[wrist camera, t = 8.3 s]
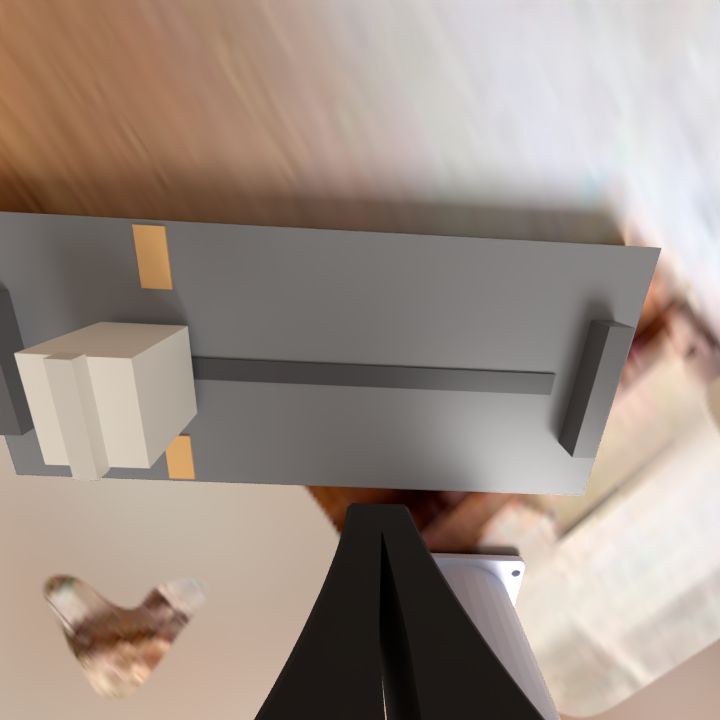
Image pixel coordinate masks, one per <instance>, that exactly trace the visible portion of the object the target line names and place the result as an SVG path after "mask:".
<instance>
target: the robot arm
mask: <svg viewBox="0 0 720 720" xmlns="http://www.w3.org/2000/svg"><path fill="white" fill-rule="evenodd" d="M524 570H525V563H524V561H523V559H522V558H521V557H520V556H506V555H475V554H445V553H430V551H429V549H428V547H427V546H426V544H425V542H424V540H423V538H422V536H421V534H420V532H419V530H418V528H417V526H416V524H415V522H414V520H413V518H412V516H411V513H410V511H409V509H408V508H407V507H406V506H405V505H404V504H363V503H352V504H351V505H349V506H348V507H347V513H346V519H345V524H344V528H343V531H342V535H341V538H340V541H339V544H338V547H337V551H336V554H335V556H334V559H333V561H332V564H331V566H330V569H329V571H328V574H327V577H326V579H325V582H324V584H323V587H322V589H321V591H320V594H319V596H318V598H317V600H316V602H315V605H314V607H313V609H312V611H311V613H310V615H309V618H308V620H307V622H306V624H305V626H304V628H303V630H302V632H301V634H300V636H299V639H298V640H297V642H296V644H295V646H294V648H293V651H292V652H291V654H290V656H289V658H288V660H287V662H286V664H285V666H284V667H283V669H282V671H281V673H280V675H279V677H278V678H277V680H276V682H275V684H274V686H273V688H272V689H271V691H270V693H269V695H268V697H267V698H266V700H265V702H264V703H263V705H262V707H261V709H260V710H259V712H258V714H257V715H256V717H255V719H254V720H385V712H384V698H385V707H386V715H387V720H561V719H560V716H559V714H558V712H557V709H556V707H555V704H554V702H553V700H552V697H551V695H550V692H549V690H548V688H547V685H546V683H545V680H544V678H543V676H542V673H541V671H540V668H539V666H538V664H537V661H536V659H535V656H534V654H533V652H532V649H531V647H530V644H529V642H528V640H527V637H526V635H525V632H524V630H523V628H522V625H521V623H520V620H519V618H518V616H517V613H516V611H515V608H514V607H515V603H516V599H517V596H518V592H519V588H520V584H521V581H522V577H523V573H524ZM382 681H383V685H382ZM383 690H384V698H383Z"/></svg>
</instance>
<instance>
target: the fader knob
mask: <svg viewBox="0 0 720 720" xmlns="http://www.w3.org/2000/svg"><path fill="white" fill-rule="evenodd" d="M14 355H15V359H16V362H17V366H18V369H19V373H20V377H21V380H22V384H23V387H24V391H25V394H26V398H27V401H28V405H29V409H30V412H31V416H32V419H33V423H34V426H35V430H36V434H37V437H38V441H39V444H40V448H41V451H42V455H43V459H44V462H45V465H69V466H70V468H71V472H72V476H73V480H90V481H99V480H100V479H101V478H102V477H103V476H104V475H105V474H106V473H107V472H108V471H109V470H110V467H122V468H149V469H150V467H151V466H152V465H153V464H154V463H155V462H156V460H157V459H158V458H159V457H160V456H161V455H162V454H163V452H164V451H165V450H166V449H167V448H168V447H169V445H170V444H171V443H172V442H173V441H174V440H175V438H176V437H177V436H178V435H179V434H180V433H181V432H182V430H183V429H184V428H185V427H186V426H187V425H188V423H189V422H190V421H191V420H192V419H193V418H194V416H195V415H196V414H197V406H196V397H195V388H194V378H193V369H192V360H191V351H190V342H189V333H188V326H179V325H158V324H137V323H116V322H99V323H96V324H93V325H90V326H88V327H85V328H82V329H79V330H77V331H74V332H71V333H68V334H66V335H63V336H60V337H57V338H55V339H52V340H49V341H46V342H44V343H41V344H38V345H35V346H33V347H30V348H27V349H24V350H22V351H19V352H16V353H14Z"/></svg>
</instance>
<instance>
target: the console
mask: <svg viewBox="0 0 720 720" xmlns="http://www.w3.org/2000/svg"><path fill="white" fill-rule="evenodd" d="M660 251H661V248H653V247H637V246H621V245H603V244H585V243H566V242H548V241H530V240H512V239H494V238H476V237H457V236H439V235H421V234H403V233H385V232H367V231H348V230H330V229H312V228H294V227H276V226H258V225H239V224H221V223H203V222H185V221H167V220H149V219H130V218H112V217H94V216H76V215H58V214H40V213H21V212H3V211H0V435H4V436H5V439H6V442H7V445H8V448H9V451H10V455H11V458H12V461H13V464H14V467H15V470H16V474H17V475H37V476H66V477H73V476H72V472H71V468H70V466H69V465H45V462H44V459H43V455H42V451H41V448H40V444H39V441H38V437H37V434H36V430H35V426H34V423H33V419H32V416H31V412H30V409H29V405H28V401H27V398H26V394H25V391H24V387H23V384H22V380H21V377H20V373H19V369H18V366H17V362H16V359H15V355H14V353H16V352H19V351H22V350H24V349H27V348H30V347H33V346H35V345H38V344H41V343H44V342H46V341H49V340H52V339H55V338H57V337H60V336H63V335H66V334H68V333H71V332H74V331H77V330H79V329H82V328H85V327H88V326H90V325H93V324H96V323H99V322H116V323H137V324H158V325H179V326H188V333H189V342H190V351H191V360H192V369H193V378H194V388H195V397H196V406H197V414H196V415H195V416H194V418H193V419H192V420H191V421H190V422H189V423H188V425H187V426H186V427H185V428H184V429H183V430H182V432H181V433H180V434H179V435H178V436H177V437H176V438H175V440H174V441H173V442H172V443H171V444H170V445H169V447H168V448H167V449H166V450H165V451H164V452H163V454H162V455H161V456H160V457H159V458H158V459H157V460H156V462H155V463H154V464H153V465H152V466H151V467H150V469H149V468H122V467H110V470H109V471H108V472H107V473H106V474H105V475H104V476H103V477H102V478H119V479H147V480H173V481H200V482H230V483H255V484H256V483H257V484H282V485H309V486H336V487H363V488H390V489H417V490H444V491H471V492H499V493H526V494H553V495H580V496H583V495H584V492H585V489H586V486H587V483H588V480H589V476H590V473H591V470H592V467H593V464H594V461H595V457H596V454H597V451H598V448H599V445H600V441H601V438H602V435H603V432H604V429H605V426H606V422H607V419H608V416H609V413H610V410H611V407H612V403H613V400H614V397H615V394H616V391H617V387H618V384H619V381H620V378H621V375H622V372H623V368H624V365H625V362H626V359H627V356H628V353H629V349H630V346H631V343H632V340H633V337H634V333H635V330H636V327H637V324H638V321H639V318H640V314H641V311H642V308H643V305H644V302H645V299H646V295H647V292H648V289H649V286H650V283H651V279H652V276H653V273H654V270H655V267H656V264H657V260H658V257H659V254H660Z"/></svg>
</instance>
